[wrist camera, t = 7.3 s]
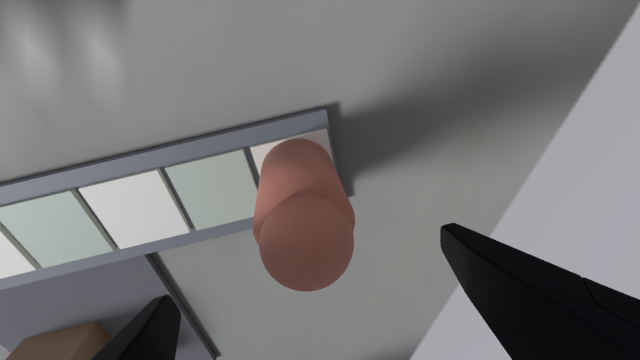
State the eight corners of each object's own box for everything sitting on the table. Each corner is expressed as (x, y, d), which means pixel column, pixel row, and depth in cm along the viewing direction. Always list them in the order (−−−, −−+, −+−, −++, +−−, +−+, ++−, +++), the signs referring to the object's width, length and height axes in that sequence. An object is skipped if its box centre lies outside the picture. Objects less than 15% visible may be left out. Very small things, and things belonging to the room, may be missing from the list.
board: (342, 199, 18) (345, 208, 17) (-10, 286, 17) (-26, 299, 16) (324, 106, 15) (327, 110, 14) (-96, 206, 14) (-121, 217, 13)
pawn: (339, 195, 16) (380, 303, 9) (272, 211, 16) (266, 331, 9) (326, 130, 14) (366, 207, 8) (251, 148, 14) (224, 241, 8)
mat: (216, 357, 23) (215, 362, 22) (72, 394, 23) (68, 400, 22) (145, 248, 17) (142, 252, 17) (-47, 295, 17) (-53, 300, 17)
